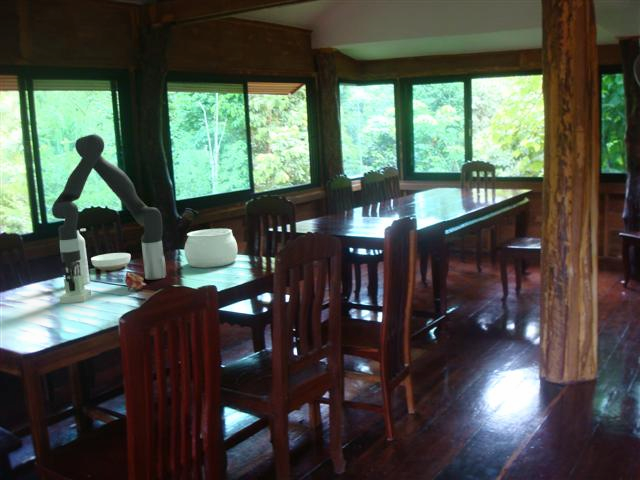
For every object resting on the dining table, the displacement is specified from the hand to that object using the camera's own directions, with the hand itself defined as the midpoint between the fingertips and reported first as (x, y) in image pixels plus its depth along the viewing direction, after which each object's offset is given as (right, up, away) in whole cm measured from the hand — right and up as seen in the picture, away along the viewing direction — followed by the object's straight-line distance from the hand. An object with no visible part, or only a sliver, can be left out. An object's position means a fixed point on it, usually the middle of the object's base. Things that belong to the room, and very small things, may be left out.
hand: (75, 288), depth 286 cm
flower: (+23, -2, +12) cm, 26 cm away
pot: (+48, +8, +60) cm, 77 cm away
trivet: (0, -4, +1) cm, 4 cm away
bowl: (-4, +6, +65) cm, 65 cm away
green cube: (0, -1, 0) cm, 1 cm away
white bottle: (-7, 0, +33) cm, 34 cm away
